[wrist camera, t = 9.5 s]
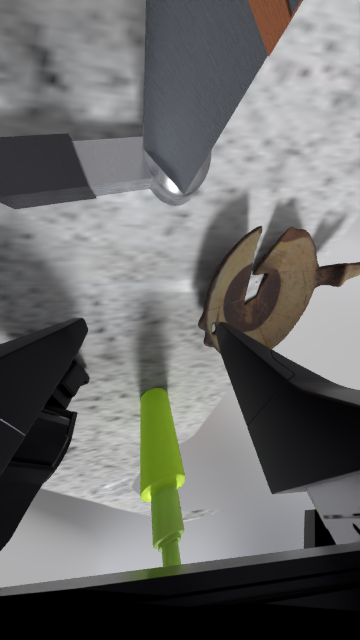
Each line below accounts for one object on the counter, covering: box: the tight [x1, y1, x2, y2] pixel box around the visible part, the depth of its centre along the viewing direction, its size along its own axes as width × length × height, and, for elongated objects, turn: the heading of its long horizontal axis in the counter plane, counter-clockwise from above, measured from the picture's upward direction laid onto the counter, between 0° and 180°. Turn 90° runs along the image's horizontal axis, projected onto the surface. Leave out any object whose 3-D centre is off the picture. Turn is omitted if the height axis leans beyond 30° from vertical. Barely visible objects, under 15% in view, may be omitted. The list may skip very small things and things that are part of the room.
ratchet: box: [0, 120, 211, 209], centre depth 12 cm, size 21×7×6 cm, turn 102°
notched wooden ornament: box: [198, 226, 360, 354], centre depth 23 cm, size 22×30×8 cm
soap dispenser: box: [140, 388, 185, 567], centre depth 20 cm, size 6×7×20 cm
